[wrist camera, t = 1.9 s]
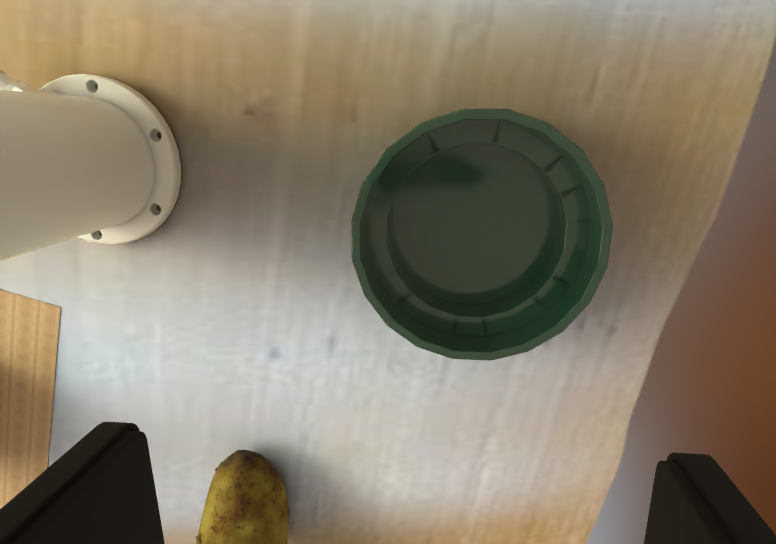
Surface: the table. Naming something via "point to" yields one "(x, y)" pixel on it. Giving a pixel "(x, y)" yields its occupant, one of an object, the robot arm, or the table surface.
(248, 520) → the potato
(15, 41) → the table surface
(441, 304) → the green round dish
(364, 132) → the table surface
